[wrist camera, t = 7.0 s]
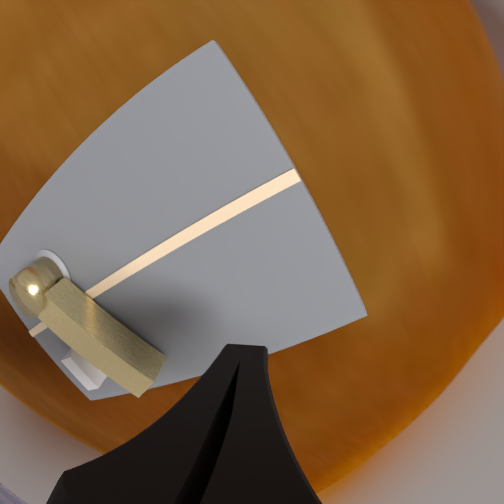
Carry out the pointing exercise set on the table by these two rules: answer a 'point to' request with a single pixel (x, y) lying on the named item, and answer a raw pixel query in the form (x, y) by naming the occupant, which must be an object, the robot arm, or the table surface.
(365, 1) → the table surface
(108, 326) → the bar
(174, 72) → the lock board
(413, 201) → the table surface
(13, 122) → the table surface
